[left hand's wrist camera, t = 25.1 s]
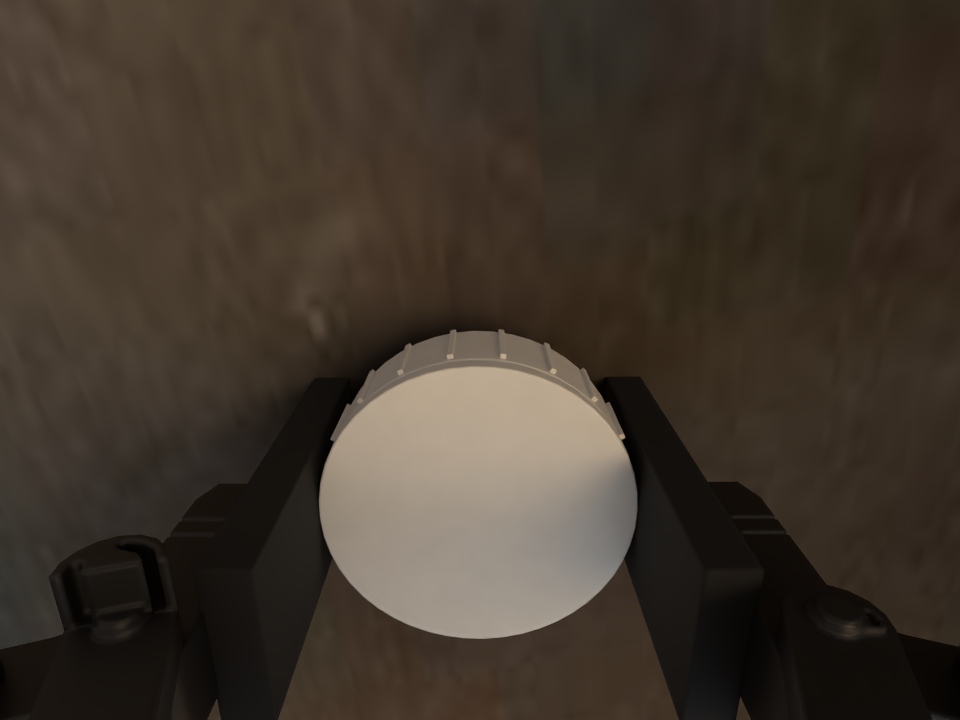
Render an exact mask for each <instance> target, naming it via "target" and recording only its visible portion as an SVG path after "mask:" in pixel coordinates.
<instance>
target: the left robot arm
mask: <svg viewBox="0 0 960 720" xmlns="http://www.w3.org/2000/svg"><path fill="white" fill-rule="evenodd" d="M608 402H610V405H611V407H612V409H613V411H614V413H615V416H616V418H617V420H618V422H619V424H620V427H621V429H622V431H623V433H624V436H625V438H624V439H622V442H623V444H624V447H625V449H626V451H627V454H628V456H629V459H630V462H631V465H632V468H633V471H634V474H635V479H636V485H637V491H638V512H637V519H636V527H635V530H634V534H633V537H632V540H631V544H630V546H629V548H628V551H627V553H626V555H625V557H624V559H625V562H626V565H627V568H628V571H629V574H630V577H631V580H632V583H633V586H634V589H635V591H636V594H637V597H638V600H639V603H640V606H641V609H642V612H643V615H644V618H645V621H646V624H647V627H648V630H649V633H650V636H651V639H652V641H653V644H654V647H655V650H656V653H657V656H658V659H659V662H660V665H661V668H662V671H663V674H664V677H665V680H666V683H667V686H668V689H669V691H670V694H671V697H672V700H673V703H674V706H675V709H676V712H677V715H678V718H679V720H736V715H737V710H738V705H739V700H740V696H741V698H742V701H743V703H744V705H745V707H746V709H747V711H748V714H749V716H750V718H751V720H960V646H959V647H957V646H953V645H948V644H943V643H939V642H934V641H930V640H925V639H921V638H916V637H912V636H907V635H904V634H900V633H897V631H896V629H895V628H894V626H893V625H892V623H891V622H890V621H889V619H888V618H887V616H886V615H885V614H884V613H883V612H881V611H880V610H879V609H878V608H876V607H875V606H874V605H873V604H872V603H870V602H869V601H867V600H865V599H863V598H861V597H859V596H857V595H855V594H853V593H851V592H850V591H847V590H843V589H840V588H836V587H833V586H829V585H826V583H825V582H824V581H823V579H822V578H821V577H820V575H819V574H818V573H817V572H816V570H815V569H814V568H813V566H812V565H811V564H810V562H809V561H808V560H807V558H806V557H805V556H804V554H803V553H802V552H801V550H800V549H799V548H798V546H797V545H796V544H795V542H794V541H793V540H792V538H791V537H790V536H789V535H786V531H785V529H784V528H783V527H782V525H781V524H780V523H779V521H778V520H775V518H774V515H773V513H772V512H771V511H770V509H769V508H768V507H767V505H766V504H765V503H764V501H763V500H762V499H761V498H760V497H759V496H758V495H756V494H755V493H753V492H752V491H750V490H749V489H747V488H746V487H744V486H743V485H741V484H740V483H738V482H707V480H706V479H705V477H704V476H703V474H702V472H701V471H700V469H699V468H698V466H697V465H696V463H695V462H694V460H693V458H692V457H691V455H690V454H689V452H688V451H687V449H686V448H685V446H684V444H683V443H682V441H681V440H680V438H679V437H678V435H677V434H676V432H675V430H674V429H673V427H672V426H671V424H670V423H669V421H668V420H667V418H666V416H665V415H664V413H663V412H662V410H661V409H660V407H659V406H658V404H657V402H656V401H655V399H654V398H653V396H652V395H651V393H650V392H649V390H648V388H647V387H646V385H645V384H644V382H643V381H642V379H641V378H640V377H606V389H605V404H606V403H608ZM347 404H349V405H351V394H350V382H349V378H315V379H314V381H313V382H312V384H311V386H310V387H309V389H308V390H307V392H306V393H305V395H304V396H303V398H302V400H301V401H300V403H299V404H298V406H297V407H296V409H295V410H294V412H293V414H292V415H291V417H290V418H289V420H288V421H287V423H286V425H285V426H284V428H283V429H282V431H281V432H280V434H279V435H278V437H277V439H276V440H275V442H274V443H273V445H272V446H271V448H270V449H269V451H268V453H267V454H266V456H265V457H264V459H263V460H262V462H261V463H260V465H259V467H258V468H257V470H256V471H255V473H254V474H253V476H252V478H251V479H250V481H249V482H248V484H218V485H217V486H215V487H214V488H212V489H211V490H210V491H208V492H207V493H205V494H204V495H202V496H201V497H199V498H198V499H196V500H195V502H194V503H193V504H192V506H191V507H190V508H189V510H188V511H187V512H186V514H185V515H184V516H183V518H182V522H179V523H178V524H177V526H176V527H175V528H174V530H173V531H172V532H171V537H168V538H167V539H166V540H165V542H164V543H162V542H160V541H159V540H158V539H157V538H153V537H149V536H144V535H127V536H118V537H114V538H110V539H106V540H103V541H99V542H96V543H94V544H92V545H90V546H88V547H85V548H83V549H81V550H79V551H77V552H75V553H74V554H72V555H71V556H70V557H68V558H67V559H65V560H64V561H63V562H61V563H60V564H59V565H58V566H57V568H56V569H55V570H54V571H53V573H52V574H51V575H50V576H49V580H50V583H51V587H52V590H53V594H54V597H55V600H56V604H57V607H58V611H59V614H60V617H61V621H62V624H63V627H64V633H63V635H60V636H56V637H53V638H49V639H45V640H41V641H36V642H32V643H27V644H23V645H18V646H14V647H10V648H5V649H1V650H0V720H207V718H208V716H209V714H210V712H211V710H212V707H213V705H214V703H215V701H216V699H217V700H218V706H219V711H220V716H221V720H278V717H279V714H280V711H281V708H282V705H283V702H284V699H285V697H286V694H287V691H288V688H289V685H290V682H291V679H292V676H293V673H294V670H295V667H296V664H297V661H298V658H299V655H300V652H301V649H302V646H303V643H304V640H305V637H306V634H307V631H308V629H309V626H310V623H311V620H312V617H313V614H314V611H315V608H316V605H317V602H318V599H319V596H320V593H321V590H322V587H323V584H324V581H325V578H326V575H327V572H328V569H329V566H330V564H331V561H332V558H333V557H332V555H331V553H330V551H329V548H328V546H327V543H326V540H325V538H324V535H323V530H322V526H321V521H320V513H319V490H320V481H321V477H322V473H323V469H324V465H325V462H326V460H327V457H328V455H329V453H330V450H331V448H332V446H333V443H334V441H332V440H330V439H331V437H332V435H333V433H334V431H335V428H336V426H337V424H338V422H339V420H340V418H341V416H342V414H343V412H344V410H345V408H346V405H347Z"/></svg>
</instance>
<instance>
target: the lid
mask: <svg viewBox="0 0 960 720" xmlns="http://www.w3.org/2000/svg"><path fill="white" fill-rule="evenodd" d="M624 438H625V436H624V433H623V431H622V429H621V427H620V424H619V422H618V420H617V418H616V416H615V413H614V411H613V409H612V407H611V405H610V402H608V403H606V404H605V402H604V400H603V398H602V396H601V395H600V393H599V392H598V390H597V389H596V388H595V386H594V385H593V383H592V382H591V381H590V379H589V376H588V374H587V371H586V370H585V369H584V368H582V369H581V370H580V369H579V368H578V367H576V366H575V365H574V364H573V363H571V362H570V361H569V360H567V359H566V358H565V357H564V356H562V355H560V354H558V353H557V352H555V351H553V350H552V349H551V348H550V345H549V344H548V343H546V342H545V343H544V344H543V345H542V344H539V343H537V342H535V341H532V340H530V339H526V338H523V337H519V336H516V335H512V334H506V333H504V330H501V329H499V330H498V332H492V331H467V332H457V333H456V330H450V334H446V335H442V336H437V337H434V338H431V339H428V340H425V341H423V342H420V343H417V344H415V345H413V346H411V344H410V343H409V344H407V345H406V346H405V348H404V351H402V352H400V353H398V354H397V355H396V356H394V357H393V358H391V359H390V360H388V361H387V362H385V363H384V364H383V365H382V366H381V367H380V368H379V369H378V370H377V371H376V372H375V371H374V370H373V369H372V370H371V371H370V372H369V374H368V377H367V379H366V381H365V383H364V385H363V387H362V388H361V389H360V391H359V392H358V394H357V396H356V397H355V399H354V401H353V402H352V404H351V405H349V404H347V405H346V408H345V410H344V412H343V414H342V416H341V418H340V420H339V422H338V424H337V426H336V428H335V431H334V433H333V435H332V437H331V439H330V440H332V441H334V443H333V446H332V448H331V450H330V453H329V455H328V457H327V460H326V462H325V465H324V469H323V473H322V477H321V481H320V490H319V513H320V521H321V526H322V530H323V535H324V538H325V540H326V543H327V546H328V548H329V551H330V553H331V555H332V557H333V559H334V560H335V562H336V564H337V566H338V568H339V569H340V570H341V572H342V573H343V574H344V576H345V577H346V578H347V580H348V581H349V582H350V584H351V585H352V586H353V587H354V588H355V589H356V590H357V591H358V592H359V593H360V594H361V595H362V596H363V597H365V598H366V599H367V600H368V601H370V602H371V603H372V604H373V605H375V606H376V607H377V608H379V609H380V610H382V611H384V612H385V613H387V614H388V615H390V616H392V617H393V618H395V619H398V620H400V621H402V622H404V623H406V624H408V625H410V626H413V627H416V628H419V629H422V630H425V631H428V632H432V633H436V634H440V635H445V636H452V637H459V638H477V639H486V638H499V637H507V636H512V635H518V634H522V633H526V632H529V631H533V630H536V629H540V628H542V627H544V626H547V625H549V624H552V623H554V622H557V621H558V620H560V619H562V618H564V617H566V616H568V615H569V614H571V613H573V612H574V611H576V610H577V609H579V608H580V607H581V606H583V605H584V604H586V603H587V602H588V601H589V600H591V599H592V598H593V597H594V596H595V595H596V594H597V593H598V592H599V591H600V590H602V588H603V587H604V586H605V585H606V584H607V582H608V581H609V580H610V579H611V578H612V577H613V575H614V574H615V572H616V571H617V569H618V568H619V566H620V564H621V563H622V561H623V559H624V557H625V555H626V553H627V551H628V548H629V546H630V544H631V540H632V537H633V534H634V530H635V527H636V519H637V512H638V491H637V485H636V479H635V474H634V471H633V468H632V465H631V462H630V459H629V456H628V454H627V451H626V449H625V447H624V444H623V442H622V439H624Z"/></svg>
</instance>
